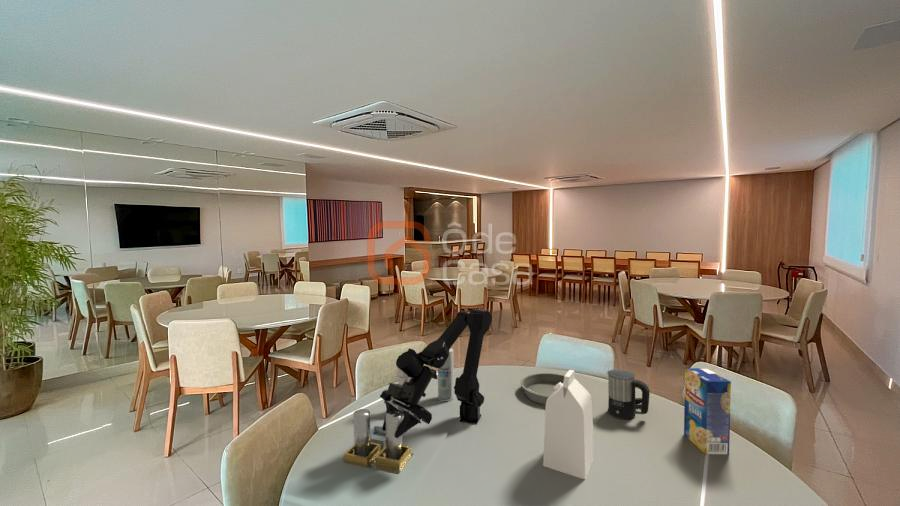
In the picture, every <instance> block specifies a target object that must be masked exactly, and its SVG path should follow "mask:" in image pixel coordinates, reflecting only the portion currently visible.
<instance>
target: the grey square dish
mask: <svg viewBox="0 0 900 506" xmlns="http://www.w3.org/2000/svg"><path fill="white" fill-rule="evenodd" d="M382 427H383V425H382V426H381V425H376V424H374V425H373V426H372V427H370V429H371V436H373V435H374V434H375V433H380V434H385V435H386V430H385V431H384V430H382ZM371 443H376V444H380V446H381V447H383V448H384V447H385V446H386V436H385V437H384V439H380V438H374V437H371Z"/></svg>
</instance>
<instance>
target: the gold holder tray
mask: <svg viewBox="0 0 900 506" xmlns="http://www.w3.org/2000/svg"><path fill="white" fill-rule="evenodd" d="M413 455H414V453H413V452H412V446H407V445H404V444H402V457H401V458H400V459H399V460H394V459H390V458H386V445H385V447H381V446H380V444H376V443H371V453H370V454H369V455H368V456H367V457H363V456H358V455H354V444H353V445H352V446H350V448H349V449H348V450H347V451H346V452H345V453H344V454H343V459H344V460H343V461H342V463H344V464H350V465H353V466H359V467H363V468H366V469H367V468H368V469H372V470H376V471H380V472H385V473H389V474H394V475H399V474H400V473H401V472H402V470H403V468H405V466H406V465H407V464H408V462H410V459H411V458H412V457H413Z"/></svg>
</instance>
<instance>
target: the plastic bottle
mask: <svg viewBox="0 0 900 506" xmlns="http://www.w3.org/2000/svg"><path fill="white" fill-rule="evenodd" d="M396 378H397V384H400V385H403V384H404V382H406V381H407V382H409V380H410V379H411V377H408V376H407V375H406V374H405V373H404V372H402V371H401V370H400V369H399V368H398V367H397V370H396ZM408 406H409V405H408ZM397 409H398V410H399V411H401V412H402V413H404V411H406V412H408V413H409V411H408V410H406V409H404V408H402V407H400V406H399V407H398V408H397Z"/></svg>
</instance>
